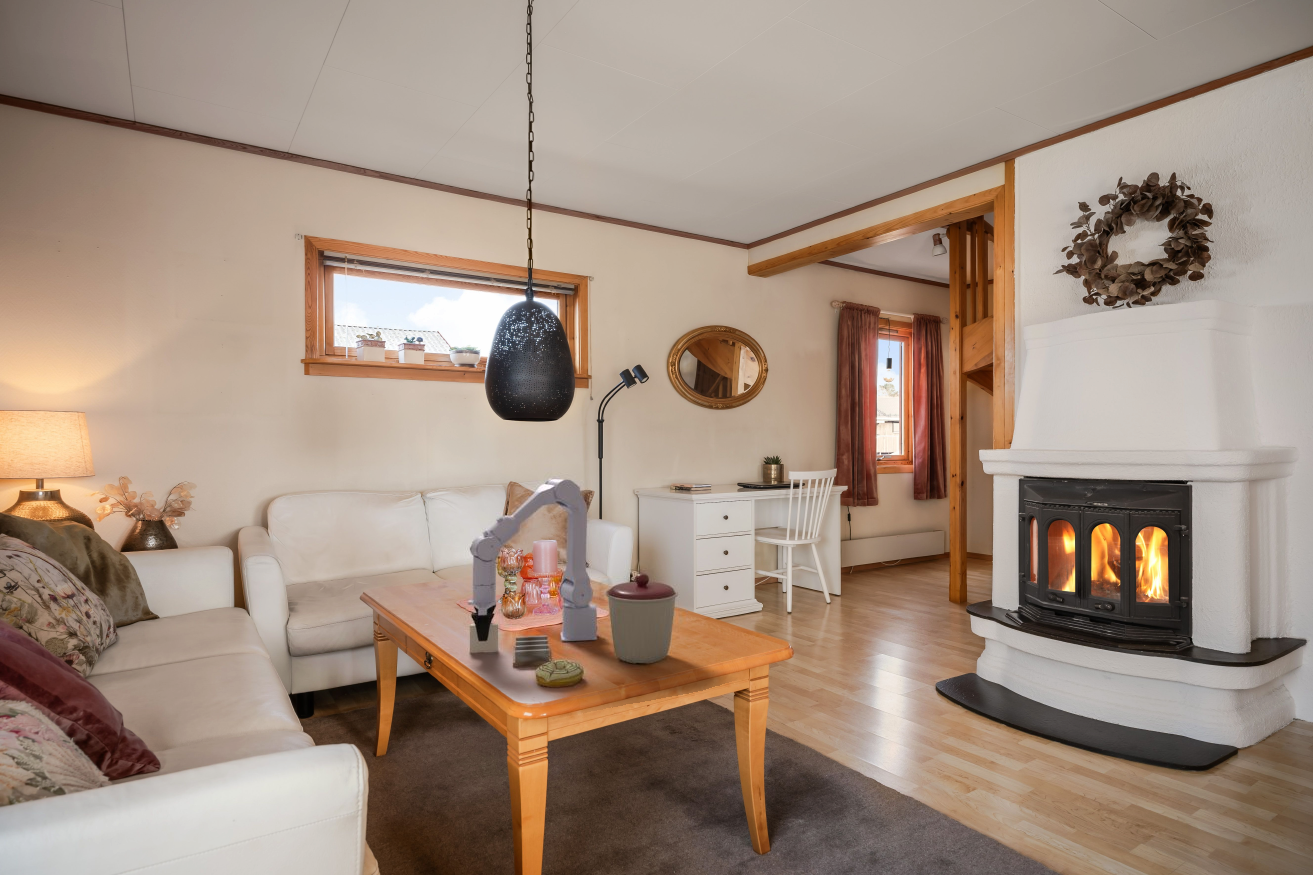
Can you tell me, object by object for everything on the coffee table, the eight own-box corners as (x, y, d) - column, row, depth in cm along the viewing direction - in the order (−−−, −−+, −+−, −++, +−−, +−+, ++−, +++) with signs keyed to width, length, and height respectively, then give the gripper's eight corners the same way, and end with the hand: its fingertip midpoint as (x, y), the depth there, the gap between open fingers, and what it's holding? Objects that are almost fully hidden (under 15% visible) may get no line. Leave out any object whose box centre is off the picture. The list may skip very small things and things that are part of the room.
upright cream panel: (498, 649, 185) (498, 622, 185) (497, 651, 183) (498, 624, 183) (470, 651, 184) (470, 623, 184) (469, 653, 182) (469, 625, 182)
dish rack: (549, 648, 186) (549, 634, 186) (550, 664, 173) (550, 650, 173) (513, 649, 185) (513, 636, 185) (512, 666, 171) (512, 652, 171)
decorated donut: (528, 678, 163) (528, 662, 163) (570, 670, 169) (570, 654, 169) (546, 692, 154) (546, 675, 154) (590, 683, 160) (590, 666, 160)
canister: (692, 658, 178) (693, 574, 178) (637, 674, 166) (637, 583, 166) (645, 643, 191) (645, 564, 191) (590, 656, 179) (591, 572, 179)
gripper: (470, 578, 190) (469, 629, 190) (465, 589, 175) (465, 645, 175) (497, 577, 191) (497, 628, 191) (495, 589, 177) (494, 644, 177)
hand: (483, 636), depth 183 cm, fingers open, 7 cm apart
